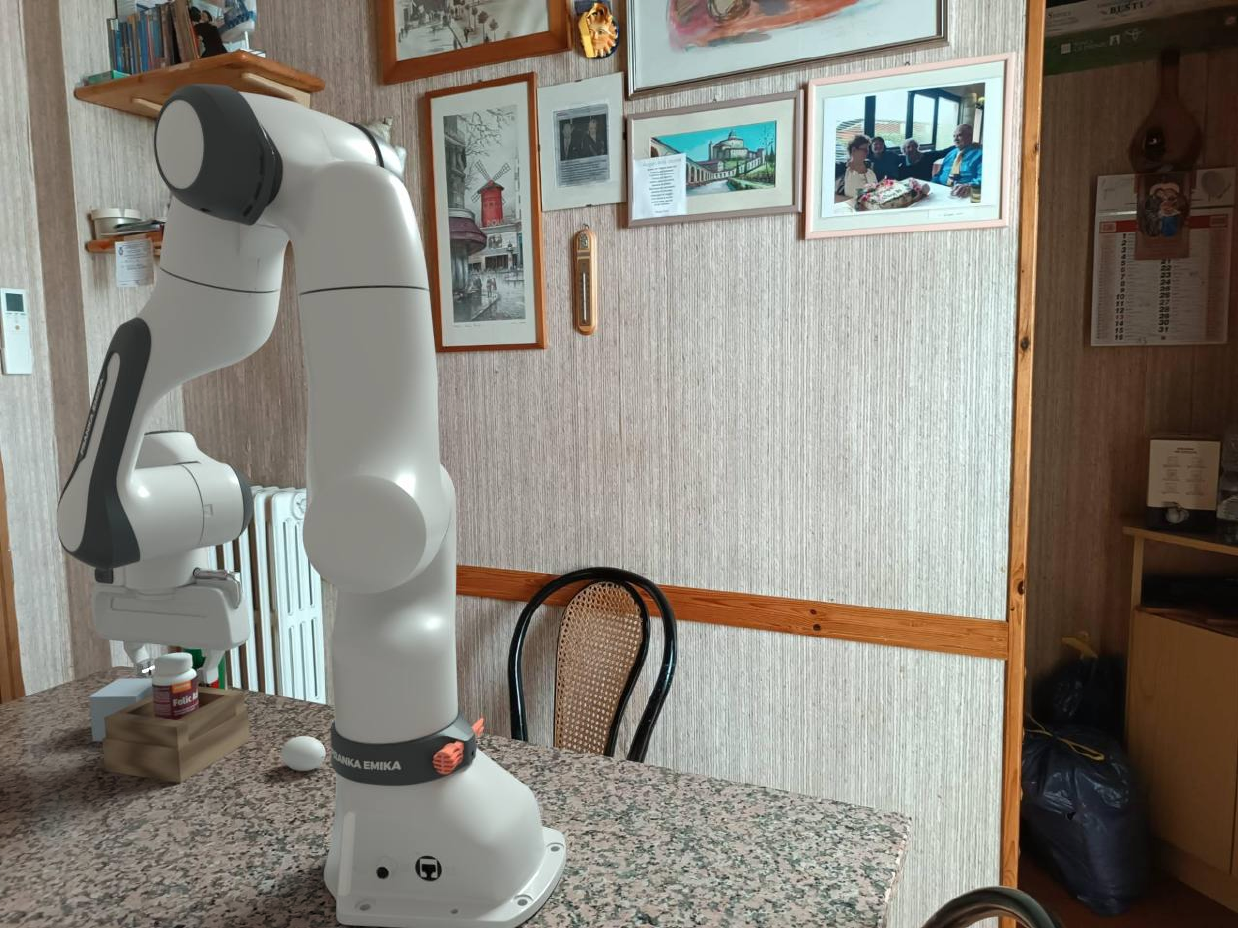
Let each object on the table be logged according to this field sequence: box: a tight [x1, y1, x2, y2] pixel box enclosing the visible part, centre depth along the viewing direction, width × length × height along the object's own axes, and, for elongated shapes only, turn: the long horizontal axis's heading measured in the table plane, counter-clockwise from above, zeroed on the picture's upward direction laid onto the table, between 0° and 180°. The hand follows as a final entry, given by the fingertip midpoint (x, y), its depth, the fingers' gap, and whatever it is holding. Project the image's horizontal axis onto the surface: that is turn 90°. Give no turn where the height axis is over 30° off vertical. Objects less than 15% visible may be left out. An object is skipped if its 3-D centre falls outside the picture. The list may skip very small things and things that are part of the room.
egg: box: [280, 735, 326, 772], centre depth 94 cm, size 4×6×4 cm, turn 72°
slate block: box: [88, 677, 153, 742], centre depth 104 cm, size 6×6×6 cm
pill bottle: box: [152, 652, 199, 720], centre depth 96 cm, size 5×5×8 cm
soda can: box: [180, 647, 229, 690], centre depth 106 cm, size 5×5×12 cm
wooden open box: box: [101, 686, 251, 784], centre depth 97 cm, size 11×11×6 cm
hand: (176, 678), depth 96 cm, fingers open, 8 cm apart
